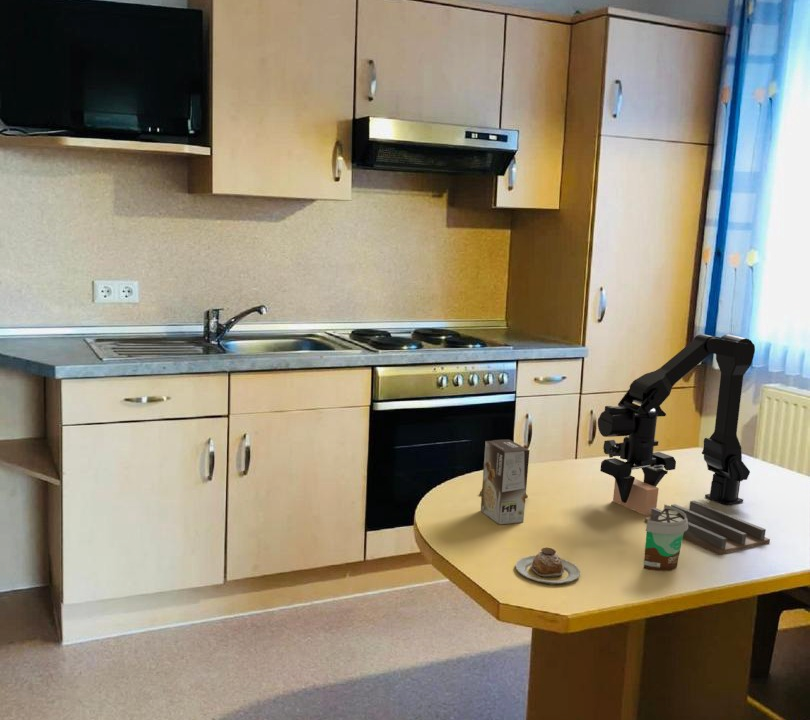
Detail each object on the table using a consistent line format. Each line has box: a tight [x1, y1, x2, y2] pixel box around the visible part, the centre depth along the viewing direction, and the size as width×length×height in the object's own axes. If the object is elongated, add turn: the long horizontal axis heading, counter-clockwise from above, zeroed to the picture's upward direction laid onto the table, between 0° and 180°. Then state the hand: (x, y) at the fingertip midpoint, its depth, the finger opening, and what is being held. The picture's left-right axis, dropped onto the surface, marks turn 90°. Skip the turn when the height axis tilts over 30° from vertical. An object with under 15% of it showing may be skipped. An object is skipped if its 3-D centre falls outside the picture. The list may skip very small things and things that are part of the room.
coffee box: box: [480, 439, 530, 525], centre depth 190 cm, size 9×6×16 cm
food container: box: [643, 504, 688, 572], centre depth 170 cm, size 12×6×10 cm, turn 148°
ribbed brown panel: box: [644, 500, 771, 556], centre depth 189 cm, size 16×20×3 cm
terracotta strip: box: [612, 478, 660, 516], centre depth 202 cm, size 4×10×6 cm, turn 31°
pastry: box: [514, 547, 581, 586], centre depth 164 cm, size 12×12×5 cm
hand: (634, 500), depth 203 cm, fingers open, 7 cm apart
